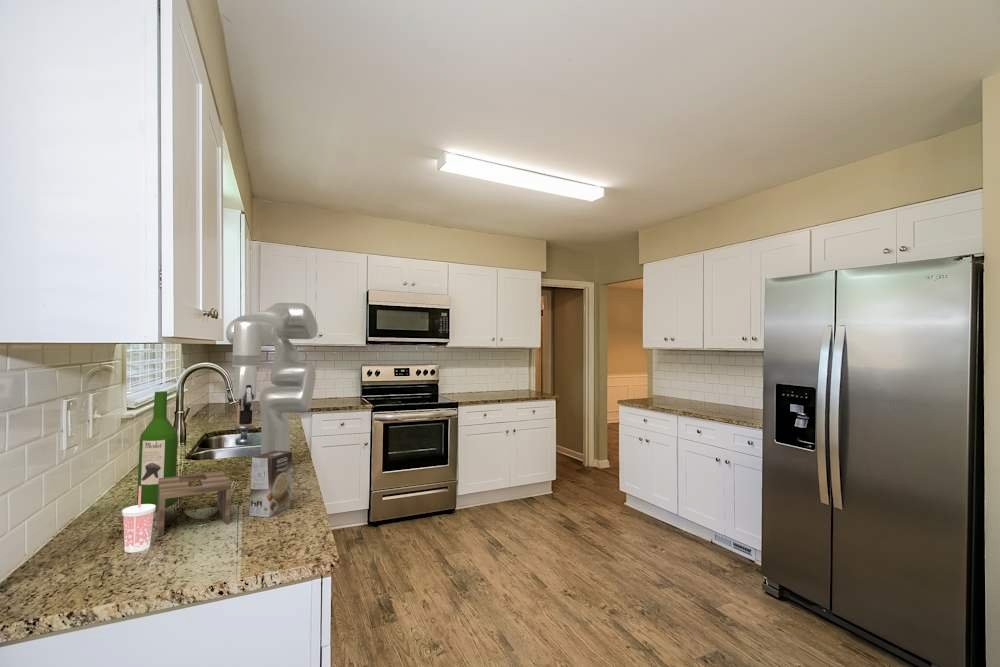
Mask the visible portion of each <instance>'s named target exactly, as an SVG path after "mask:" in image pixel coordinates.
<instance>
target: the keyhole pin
mask: <svg viewBox="0 0 1000 667" xmlns="http://www.w3.org/2000/svg"><path fill="white" fill-rule="evenodd" d="M253 409H254V405H253V404H252V413H253ZM236 411H237V413H236V414H237V415H236V424H235V425H234V430H237V431H240V437H237V438H235V440H234V441H235V445H236V446H248V445H252V444H253V437H249V436H248V433H249V432H248V431H249V430H253V429H254V428H255V427H254V426H255V424H253V422H252V423H251V424H244V425H240V423H239V422H240V411H241V405H238V404H237V408H236Z"/></svg>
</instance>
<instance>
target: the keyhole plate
mask: <svg viewBox="0 0 1000 667" xmlns="http://www.w3.org/2000/svg"><path fill="white" fill-rule="evenodd" d="M198 480H200V485H197V486H192V487H191V486H190V487H189V483H188V482H190V481H198ZM231 489H232V484H231V483H230V481H229V478H227V476H226V473H224V471H223V470H216V471H208V472H200V473H192V474H183V475H176V476H174V477H166V478H159V481H158V505H157V509H156V520H157V532H158V533H157V534H158V537H162V536H164V532H165V509H166V507H165V499H167V498H174V497H175V498H181V497H186V496H194V495H200V494H201V495H202V494H209V493H214V492H217V498H216V507H217V509H218V511H219V514H220V516H221V518H222V521H223V523H224V524H225V525H229V524H230V523H231V521H230V520H231V496H232V495H231V493H232V492H231V491H232V490H231Z"/></svg>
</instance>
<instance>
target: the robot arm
mask: <svg viewBox="0 0 1000 667" xmlns="http://www.w3.org/2000/svg"><path fill="white" fill-rule="evenodd" d="M318 331H319V326H318V323H317V320H316V317H315V315H314V313H313V311H312V309H311V308H310V307H309V306H308V305H307V304H306V303H302V302H277V303H273V305H271V306H270V307H268V308H266V309H265V310H263V311H257V312H254V313H249V314H244V315H240V316H237V317H236V318H234V319H232V320H231V322H229V324H228V326H227V327H226V330H225V336H226V337H225V338H226V339H227V341H228V343H229V344H232V360H231V361H232V363H231V364H232V365H231V366H232V368H234V369H235V370H234V375H233V377H234V378H233V387H232V388H233V389H232V398H233V399H234V400H236V401H237V402H238V403H237V406H238V405H241V411H240V422H239V423H240V425H244V424H251V423H252V424H253V412H252V405H253V401H254V400H255V399H256V397H257V374H258V373H257V370H258V368H261V359H262V358H261V357H262V346H264V347H265V346H270V345H273V346H274V351H275V352H274V357H273V361H272V365H271V369H270V374H269V380H270V383H271V384H272V385H273V386H267V387H264V388H263V389H262V390H261V391H260V394H259V407H260V414H261V416H260V417H261V426H260V428H261V432H260V454H264V453H267V452H271V451H289V452H290V444H291V443H290V442H291V423H290V421H289V419H288V416H287V417H286V415H285V414H288V413H289V414H291V413H295V414H296V413H305V412H308V411H309V410H310V408H311V405H312V402H313V396H314V390H315V385H316V379H317V378H316V376H317V371H316V366H315V365H314V364H313V363H312V362H310V361H300V360H299V356H300V353H299V350H298V348H297V347H296V346H295V344H293V343H292V342H291V340H312V339H315V338H316V336H317V335H318ZM293 473H294V468H293V467H292V470H291V475H292V474H293Z"/></svg>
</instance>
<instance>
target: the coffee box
mask: <svg viewBox="0 0 1000 667" xmlns="http://www.w3.org/2000/svg"><path fill="white" fill-rule="evenodd" d="M292 462H293V451H290V450H289V451H271V452H267V453H264V454H261V453H260V454H256V455H253V456H251V471H250V472H251V474H250V475H251V477H250V496H249V497H250V498H249V514H248V515H249V516H250V517H260V518H267V519H268V518H270V517H273V516H275V515H278V514H279V513H281V512H284V511H286V510H288V509H290V507H291V491H292V488H291V486H292V474H291V470H292V468H293V466H292V464H293V463H292Z"/></svg>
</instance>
